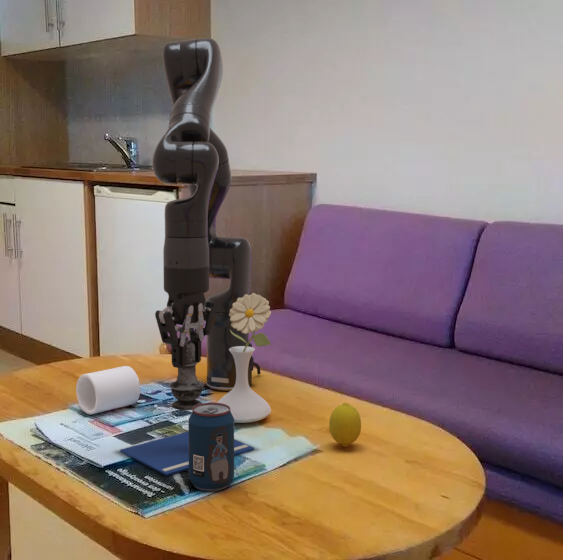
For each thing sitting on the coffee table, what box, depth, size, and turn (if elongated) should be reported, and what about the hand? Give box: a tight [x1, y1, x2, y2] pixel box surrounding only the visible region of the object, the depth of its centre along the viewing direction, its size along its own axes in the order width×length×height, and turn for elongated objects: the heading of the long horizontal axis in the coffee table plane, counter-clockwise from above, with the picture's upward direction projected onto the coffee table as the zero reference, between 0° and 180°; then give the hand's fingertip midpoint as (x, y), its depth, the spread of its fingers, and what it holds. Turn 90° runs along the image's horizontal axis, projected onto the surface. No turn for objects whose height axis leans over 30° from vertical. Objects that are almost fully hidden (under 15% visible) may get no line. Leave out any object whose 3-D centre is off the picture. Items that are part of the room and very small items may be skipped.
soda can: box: [188, 402, 235, 492], centre depth 118 cm, size 7×7×12 cm
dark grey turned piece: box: [169, 335, 205, 411], centre depth 130 cm, size 6×6×12 cm
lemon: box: [328, 402, 362, 448], centre depth 134 cm, size 6×6×8 cm
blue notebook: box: [119, 431, 255, 477], centre depth 132 cm, size 18×14×1 cm
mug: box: [75, 365, 141, 416], centre depth 155 cm, size 12×10×8 cm
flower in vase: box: [216, 292, 272, 424], centre depth 147 cm, size 13×11×25 cm
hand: (186, 364), depth 130 cm, fingers closed on dark grey turned piece, 3 cm apart
